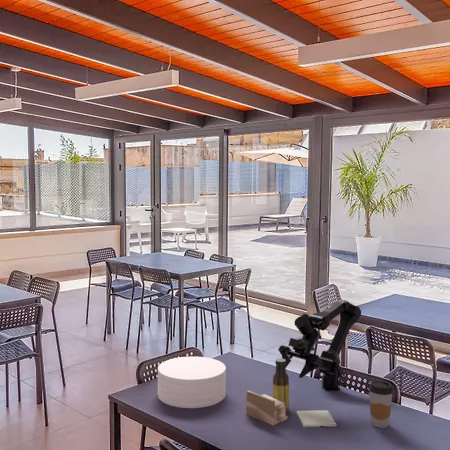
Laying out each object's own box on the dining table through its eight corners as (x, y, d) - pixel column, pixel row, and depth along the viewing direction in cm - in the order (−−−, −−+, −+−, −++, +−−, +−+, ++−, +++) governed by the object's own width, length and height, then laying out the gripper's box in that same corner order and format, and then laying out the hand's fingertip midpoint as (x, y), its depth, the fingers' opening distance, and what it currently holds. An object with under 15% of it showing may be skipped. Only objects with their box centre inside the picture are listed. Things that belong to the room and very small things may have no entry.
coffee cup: (392, 421, 195) (393, 381, 194) (391, 431, 187) (392, 390, 186) (368, 417, 198) (370, 378, 197) (367, 427, 190) (368, 386, 189)
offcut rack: (261, 407, 206) (262, 385, 205) (287, 418, 196) (288, 394, 196) (246, 414, 199) (246, 391, 199) (272, 425, 190) (273, 401, 190)
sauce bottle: (284, 405, 208) (285, 356, 206) (291, 412, 202) (293, 361, 200) (269, 408, 205) (270, 358, 204) (276, 414, 200) (277, 363, 198)
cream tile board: (327, 412, 202) (327, 410, 202) (336, 426, 190) (336, 424, 190) (296, 413, 201) (296, 410, 201) (303, 427, 189) (303, 425, 189)
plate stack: (184, 414, 199) (185, 385, 198) (144, 392, 220) (144, 365, 219) (239, 396, 217) (239, 369, 216) (197, 377, 238) (197, 352, 237)
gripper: (281, 325, 216) (263, 357, 209) (319, 335, 203) (301, 369, 196) (292, 340, 222) (275, 372, 215) (330, 351, 209) (313, 385, 202)
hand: (290, 374), depth 207 cm, fingers open, 9 cm apart
